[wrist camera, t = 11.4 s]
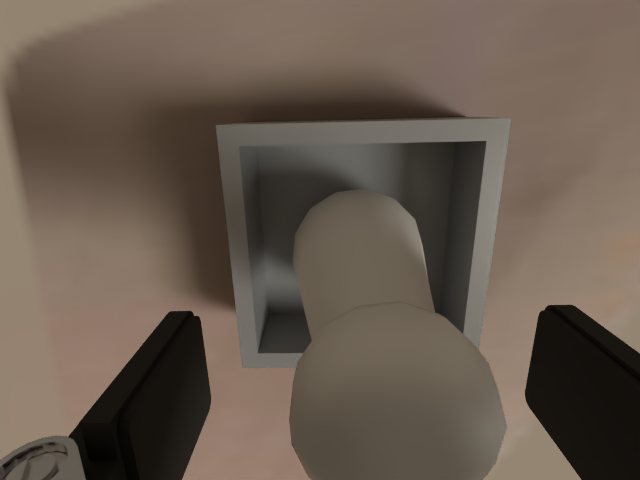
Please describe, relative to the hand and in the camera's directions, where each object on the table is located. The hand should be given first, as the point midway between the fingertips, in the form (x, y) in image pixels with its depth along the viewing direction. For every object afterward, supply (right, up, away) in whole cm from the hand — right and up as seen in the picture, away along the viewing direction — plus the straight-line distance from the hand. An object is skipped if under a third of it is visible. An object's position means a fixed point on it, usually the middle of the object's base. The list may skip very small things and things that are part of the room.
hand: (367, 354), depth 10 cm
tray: (0, +4, +10) cm, 10 cm away
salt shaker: (0, +3, +9) cm, 10 cm away
